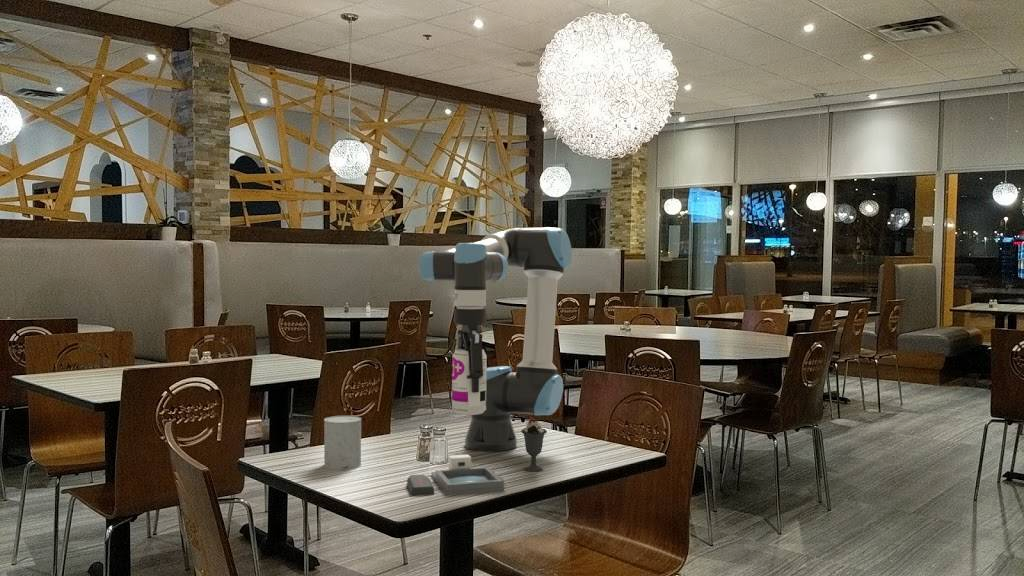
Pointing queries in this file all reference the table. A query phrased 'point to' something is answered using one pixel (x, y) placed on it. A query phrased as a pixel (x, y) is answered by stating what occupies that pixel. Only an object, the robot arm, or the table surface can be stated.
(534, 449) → the sundae
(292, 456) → the table surface
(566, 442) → the table surface
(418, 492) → the dark grey rounded block
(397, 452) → the table surface
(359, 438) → the gray cylinder
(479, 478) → the charging dock
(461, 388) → the supplement can
